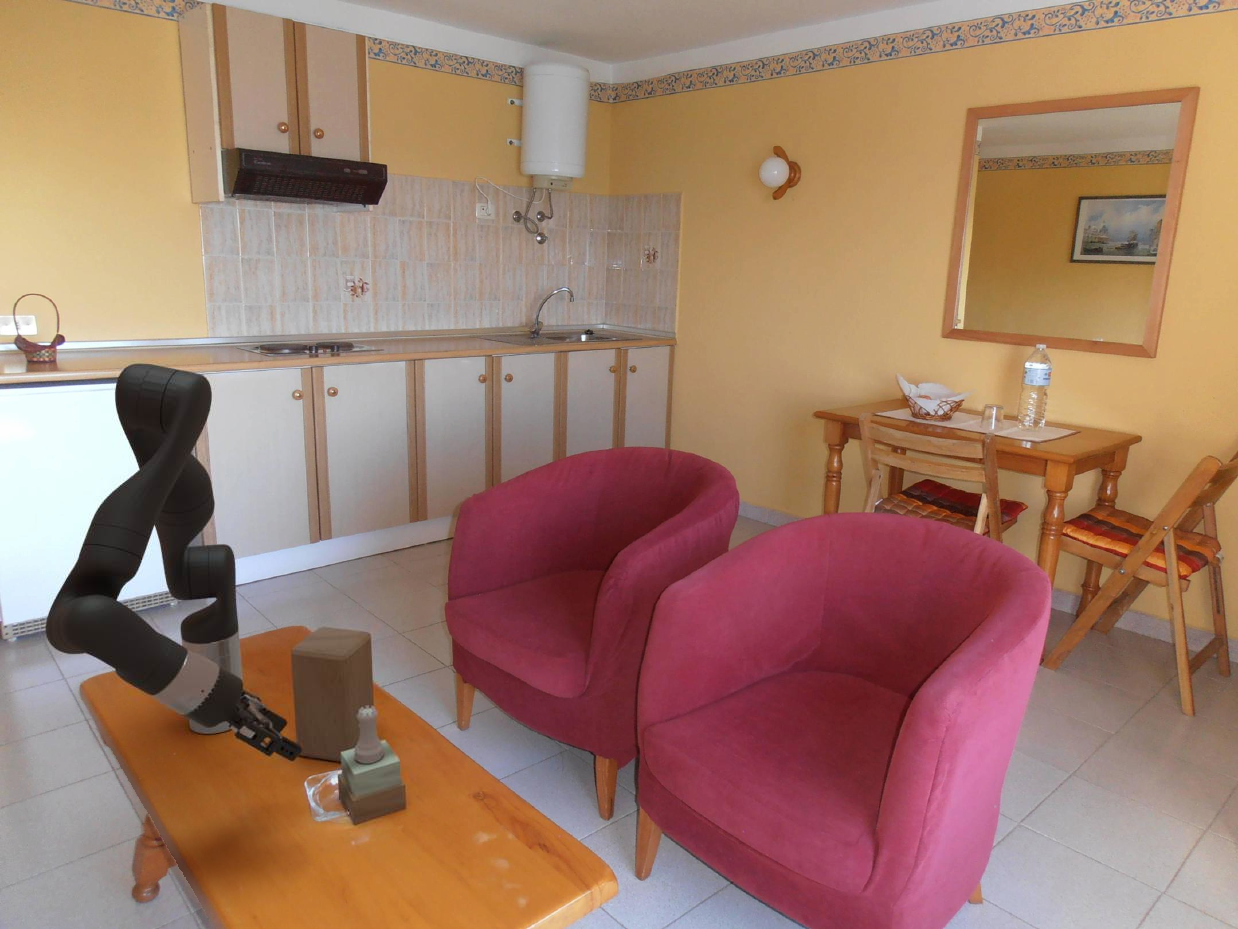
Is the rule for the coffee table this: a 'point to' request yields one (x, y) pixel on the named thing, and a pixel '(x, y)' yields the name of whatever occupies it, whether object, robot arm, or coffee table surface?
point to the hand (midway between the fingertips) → (290, 740)
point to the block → (331, 690)
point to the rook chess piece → (368, 737)
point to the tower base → (371, 802)
